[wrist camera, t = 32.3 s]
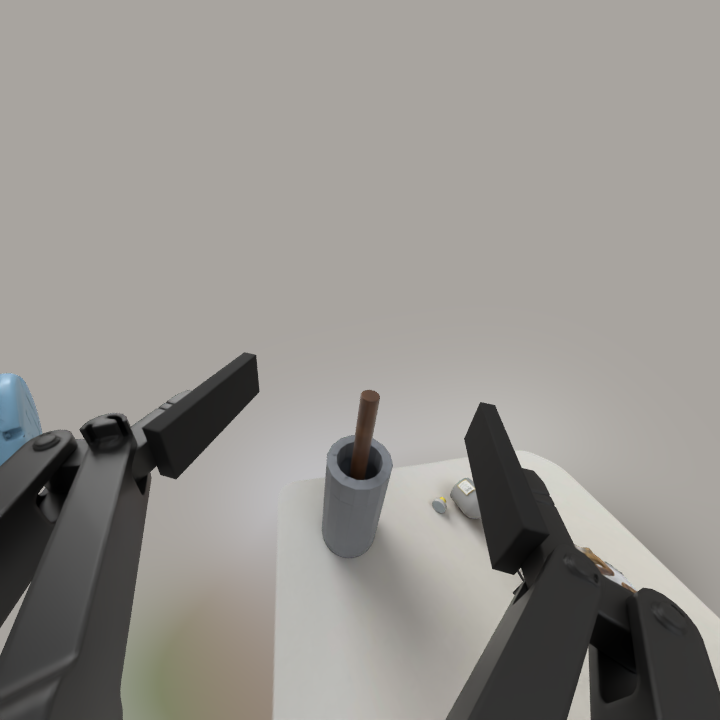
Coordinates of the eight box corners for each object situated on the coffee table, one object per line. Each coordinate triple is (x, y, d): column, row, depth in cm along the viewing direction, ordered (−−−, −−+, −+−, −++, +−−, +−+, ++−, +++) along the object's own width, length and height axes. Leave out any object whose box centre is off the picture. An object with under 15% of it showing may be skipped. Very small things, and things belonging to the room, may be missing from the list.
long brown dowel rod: (338, 536, 37) (356, 404, 25) (338, 513, 39) (354, 385, 28) (360, 535, 37) (388, 405, 26) (359, 513, 40) (383, 387, 28)
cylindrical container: (320, 559, 35) (325, 489, 27) (323, 501, 42) (328, 434, 34) (378, 557, 36) (398, 489, 28) (371, 501, 43) (386, 435, 35)
